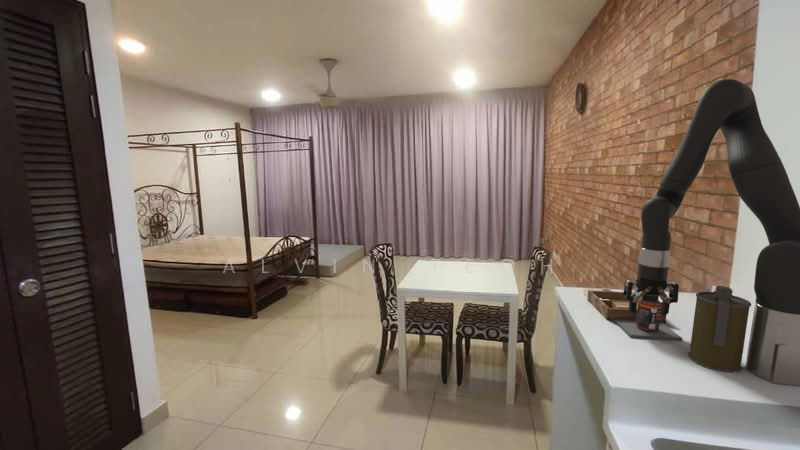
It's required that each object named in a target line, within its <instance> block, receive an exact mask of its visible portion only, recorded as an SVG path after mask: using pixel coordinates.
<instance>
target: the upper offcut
mask: <svg viewBox="0 0 800 450" xmlns="http://www.w3.org/2000/svg"><path fill="white" fill-rule="evenodd" d="M612 308H618V309H629V303H623V302H612ZM637 308H638V303H637Z"/></svg>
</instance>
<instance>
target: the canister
mask: <svg viewBox="0 0 800 450" xmlns="http://www.w3.org/2000/svg"><path fill="white" fill-rule="evenodd" d="M695 297H696V300H695V301H696V302H695V307H694V308H695V309H694V315H693V324H692V330H691V331H692V332H691V339H690V345H689V352H688V353H687V354H688V355H687V356H688V358H689V359H691V361H692V362H695V364H698V365H700V366H703V367H705V368H707V369H710V370H714V371H717V372H723V373H739V372H740V371H742V359H743V353H744V347H745V340H746V333H747V325H748V319H749V313H750V307H752V302H751V301H750V300H747V299H745V298H743V297H740V296H738V295H737V296H736V295H733V289H732V288H730V286H722V285H717V286H715V290H713V291H699V292H696V294H695Z"/></svg>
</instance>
